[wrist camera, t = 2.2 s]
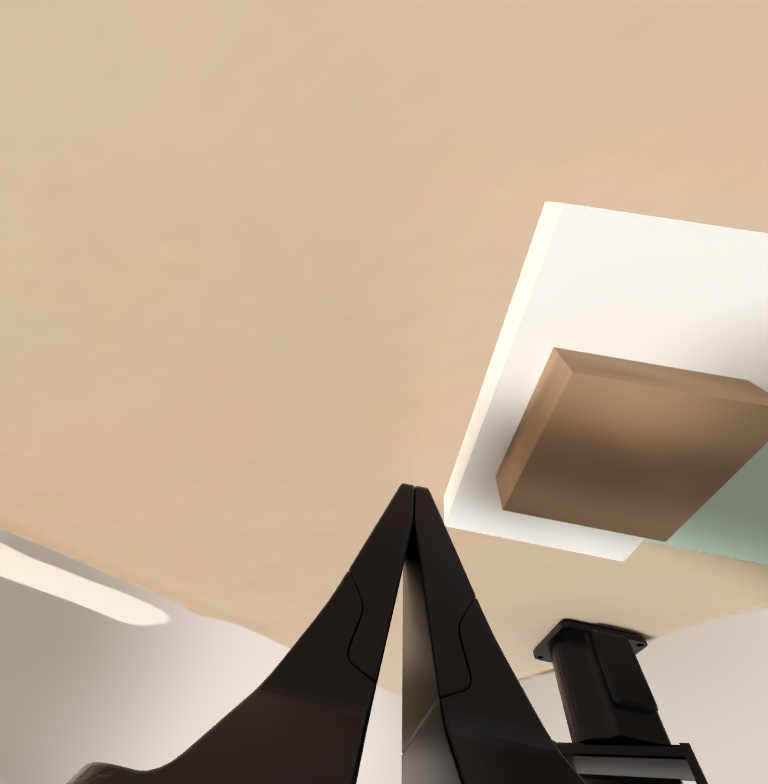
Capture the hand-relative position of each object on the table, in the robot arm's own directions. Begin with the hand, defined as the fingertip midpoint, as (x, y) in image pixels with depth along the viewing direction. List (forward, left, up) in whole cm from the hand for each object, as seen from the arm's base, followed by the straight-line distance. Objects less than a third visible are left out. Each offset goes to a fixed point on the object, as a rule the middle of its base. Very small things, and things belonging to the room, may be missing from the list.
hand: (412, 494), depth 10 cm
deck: (0, -8, -7) cm, 11 cm away
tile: (0, -8, -5) cm, 9 cm away
